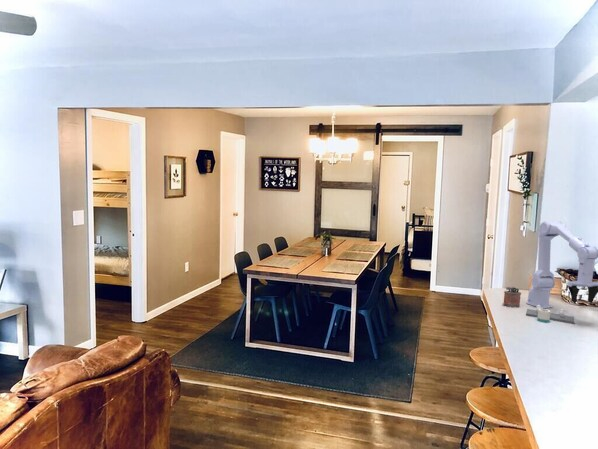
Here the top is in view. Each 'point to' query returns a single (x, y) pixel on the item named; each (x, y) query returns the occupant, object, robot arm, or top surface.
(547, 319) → the sleeve
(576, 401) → the top surface
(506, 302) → the lighter
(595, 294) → the robot arm
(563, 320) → the pin board
